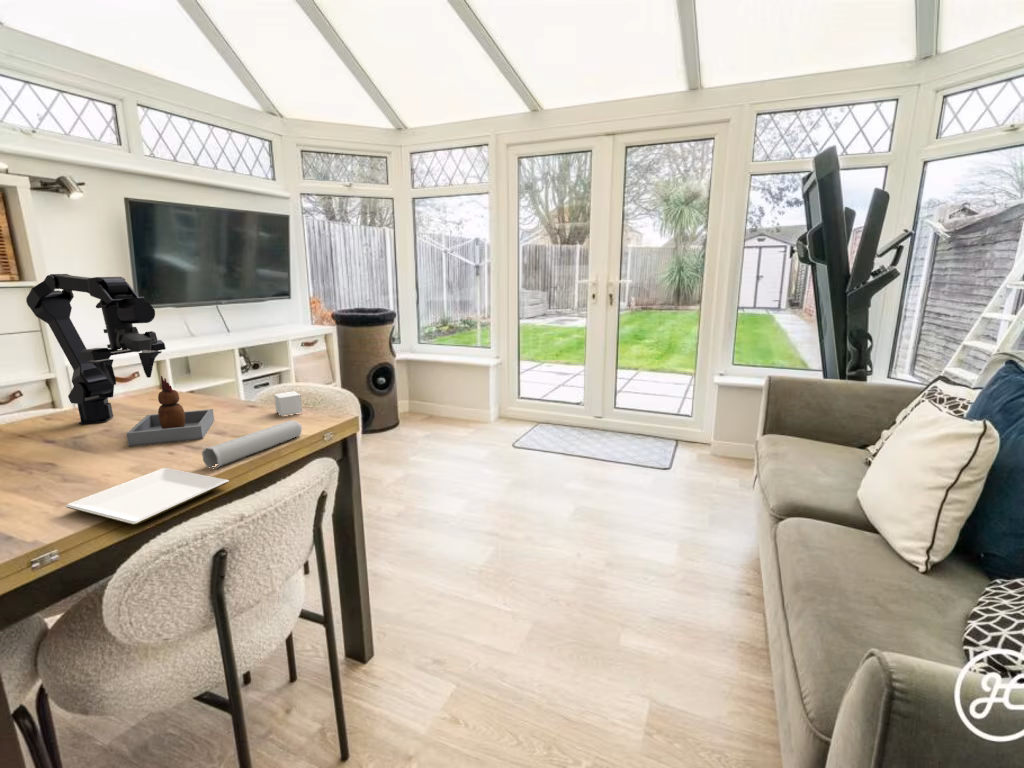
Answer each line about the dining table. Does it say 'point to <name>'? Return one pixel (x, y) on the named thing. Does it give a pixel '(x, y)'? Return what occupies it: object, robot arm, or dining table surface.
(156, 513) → the plate
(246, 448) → the tube
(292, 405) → the light grey cube
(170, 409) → the wooden figurine
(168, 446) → the dining table surface
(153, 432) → the box
